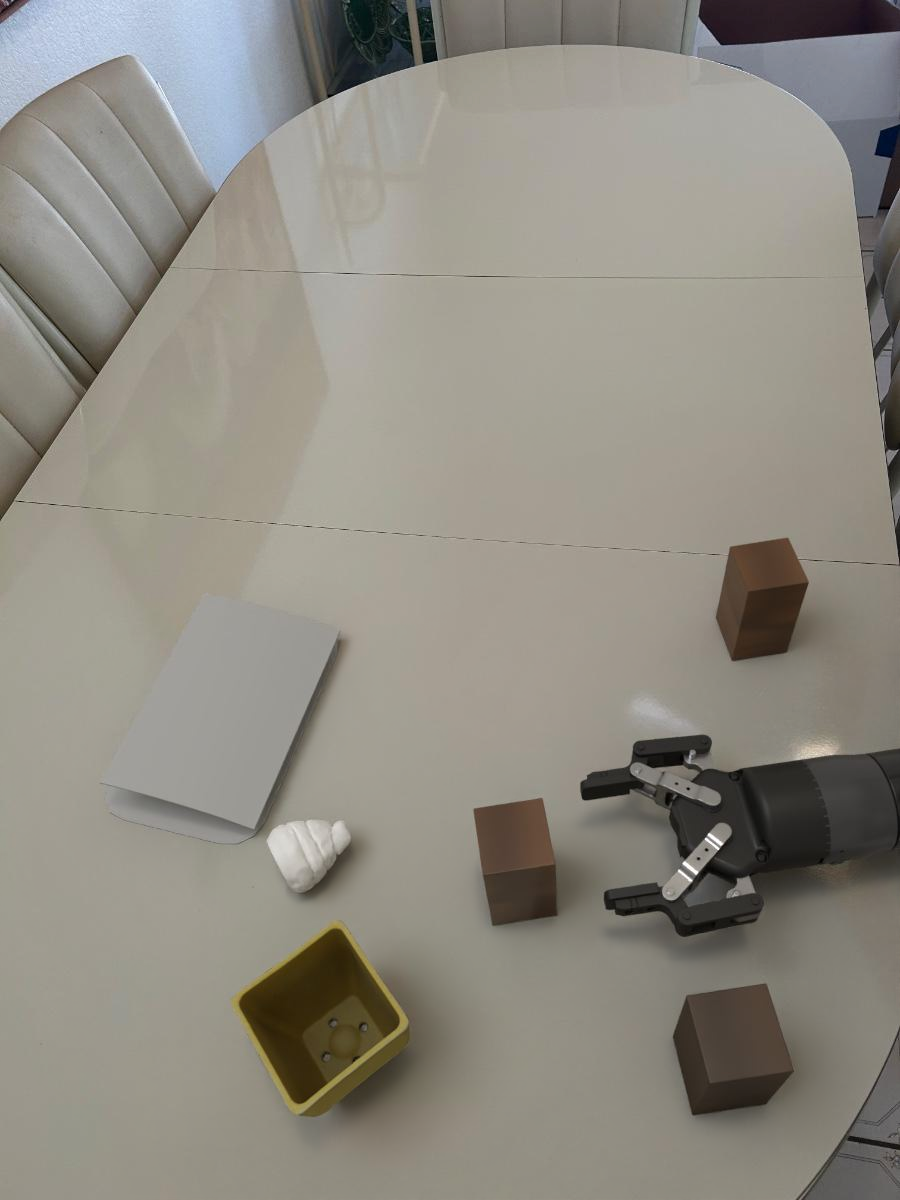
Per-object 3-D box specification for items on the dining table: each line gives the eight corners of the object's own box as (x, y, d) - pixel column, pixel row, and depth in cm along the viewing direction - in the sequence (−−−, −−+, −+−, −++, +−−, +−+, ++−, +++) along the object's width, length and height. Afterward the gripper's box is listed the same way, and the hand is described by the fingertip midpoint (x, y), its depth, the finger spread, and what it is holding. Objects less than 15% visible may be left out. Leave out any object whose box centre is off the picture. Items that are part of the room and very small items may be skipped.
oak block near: (743, 1025, 65) (766, 982, 57) (766, 1104, 62) (794, 1071, 54) (672, 1035, 65) (686, 995, 57) (692, 1115, 62) (709, 1084, 54)
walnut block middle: (545, 854, 74) (542, 797, 66) (557, 915, 71) (555, 864, 63) (483, 863, 74) (473, 808, 66) (492, 925, 71) (482, 875, 63)
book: (92, 812, 81) (74, 791, 78) (206, 605, 94) (193, 581, 91) (253, 852, 77) (240, 832, 74) (347, 631, 90) (339, 606, 87)
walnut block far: (768, 608, 87) (788, 537, 79) (787, 652, 84) (809, 582, 76) (715, 617, 87) (729, 546, 79) (731, 660, 84) (748, 591, 76)
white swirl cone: (368, 868, 75) (356, 840, 71) (301, 907, 74) (284, 880, 69) (339, 814, 78) (326, 784, 74) (274, 851, 77) (257, 822, 72)
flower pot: (324, 1142, 63) (293, 1119, 56) (262, 1033, 68) (226, 998, 61) (429, 1056, 66) (412, 1023, 59) (362, 957, 71) (339, 915, 64)
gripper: (789, 701, 69) (573, 733, 70) (863, 886, 61) (616, 922, 61) (772, 750, 75) (573, 780, 75) (837, 925, 66) (611, 959, 67)
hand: (592, 843), depth 68 cm, fingers open, 8 cm apart
